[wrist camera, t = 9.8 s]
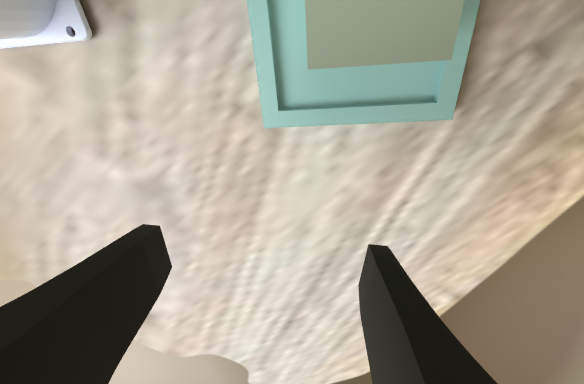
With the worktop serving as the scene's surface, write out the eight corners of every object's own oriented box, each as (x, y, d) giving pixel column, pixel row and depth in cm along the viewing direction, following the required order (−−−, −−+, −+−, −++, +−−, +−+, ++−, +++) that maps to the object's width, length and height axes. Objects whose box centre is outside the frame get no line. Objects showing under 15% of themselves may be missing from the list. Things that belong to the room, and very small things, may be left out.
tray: (267, 123, 18) (264, 128, 17) (235, -122, 12) (228, -133, 11) (445, 114, 16) (452, 119, 15) (507, -168, 10) (524, -185, 10)
